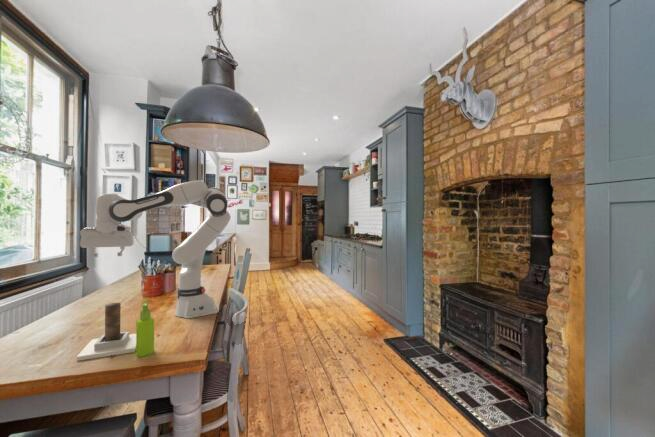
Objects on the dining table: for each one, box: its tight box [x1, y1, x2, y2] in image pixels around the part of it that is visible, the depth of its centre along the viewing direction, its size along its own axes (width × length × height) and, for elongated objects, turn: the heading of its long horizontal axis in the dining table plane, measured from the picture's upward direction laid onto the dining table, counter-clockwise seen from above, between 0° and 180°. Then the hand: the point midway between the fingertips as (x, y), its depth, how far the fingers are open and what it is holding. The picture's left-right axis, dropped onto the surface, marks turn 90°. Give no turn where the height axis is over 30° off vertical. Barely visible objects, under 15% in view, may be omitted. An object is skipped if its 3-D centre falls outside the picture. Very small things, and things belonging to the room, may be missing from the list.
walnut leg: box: [104, 302, 122, 342], centre depth 115 cm, size 5×5×16 cm
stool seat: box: [76, 331, 136, 362], centre depth 115 cm, size 18×16×4 cm
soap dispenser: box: [135, 301, 155, 357], centre depth 111 cm, size 6×7×20 cm
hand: (107, 256), depth 135 cm, fingers open, 8 cm apart
